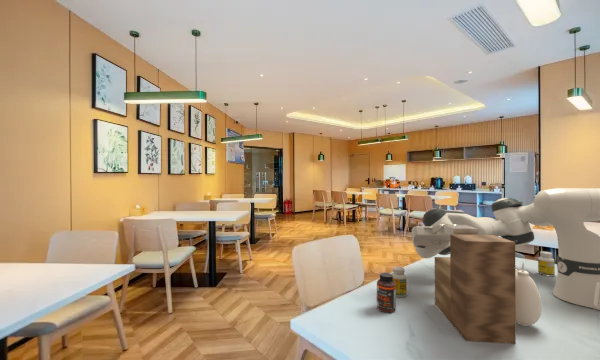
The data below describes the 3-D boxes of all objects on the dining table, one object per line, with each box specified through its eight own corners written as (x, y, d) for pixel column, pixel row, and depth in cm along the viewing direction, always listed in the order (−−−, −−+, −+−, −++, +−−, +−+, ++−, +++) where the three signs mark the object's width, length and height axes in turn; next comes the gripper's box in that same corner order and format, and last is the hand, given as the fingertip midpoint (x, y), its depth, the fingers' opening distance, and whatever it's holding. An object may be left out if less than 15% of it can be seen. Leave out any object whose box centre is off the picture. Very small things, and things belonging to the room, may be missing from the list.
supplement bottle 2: (397, 290, 103) (397, 265, 103) (409, 295, 99) (409, 269, 99) (388, 293, 100) (388, 267, 100) (400, 298, 96) (400, 271, 96)
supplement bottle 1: (375, 311, 87) (375, 276, 87) (377, 303, 92) (377, 270, 92) (395, 314, 85) (395, 278, 85) (395, 306, 90) (395, 272, 90)
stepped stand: (472, 306, 90) (472, 227, 90) (515, 343, 69) (515, 242, 69) (434, 304, 92) (434, 227, 92) (466, 340, 71) (465, 241, 71)
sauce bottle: (500, 317, 83) (499, 258, 83) (526, 317, 82) (526, 258, 83) (520, 331, 75) (519, 266, 75) (549, 332, 75) (548, 266, 75)
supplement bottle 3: (535, 272, 123) (534, 250, 123) (548, 272, 122) (548, 251, 122) (544, 276, 118) (543, 254, 118) (558, 277, 117) (557, 254, 117)
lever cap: (454, 228, 97) (454, 221, 97) (477, 237, 81) (477, 228, 81) (433, 227, 97) (433, 220, 97) (453, 236, 82) (453, 228, 82)
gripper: (465, 247, 102) (483, 235, 91) (409, 246, 105) (419, 234, 93) (461, 231, 106) (478, 218, 94) (407, 230, 108) (416, 217, 96)
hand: (448, 226), depth 93 cm, fingers closed on lever cap, 3 cm apart
